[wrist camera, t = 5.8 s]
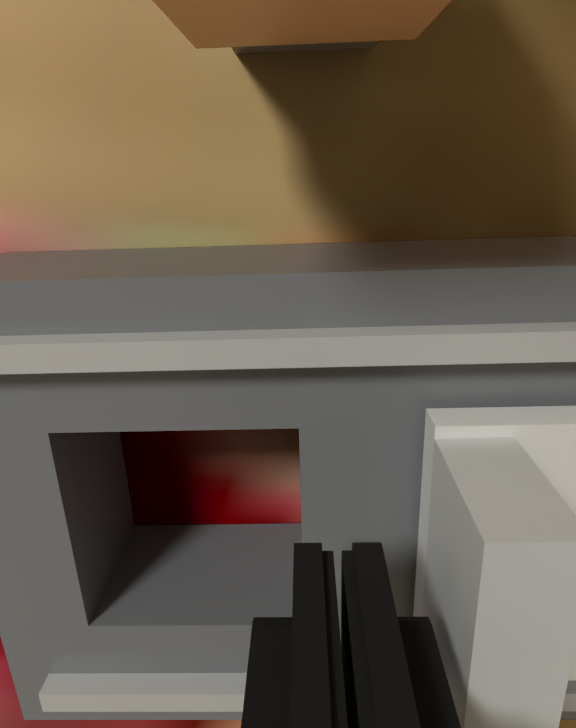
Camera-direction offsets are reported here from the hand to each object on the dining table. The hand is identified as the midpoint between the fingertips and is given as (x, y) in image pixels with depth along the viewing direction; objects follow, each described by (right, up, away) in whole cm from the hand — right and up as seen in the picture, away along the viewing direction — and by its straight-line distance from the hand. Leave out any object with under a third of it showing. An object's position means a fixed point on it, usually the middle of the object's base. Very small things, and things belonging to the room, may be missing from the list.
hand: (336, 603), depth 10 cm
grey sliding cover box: (0, +2, +6) cm, 6 cm away
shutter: (+5, +1, +1) cm, 6 cm away
